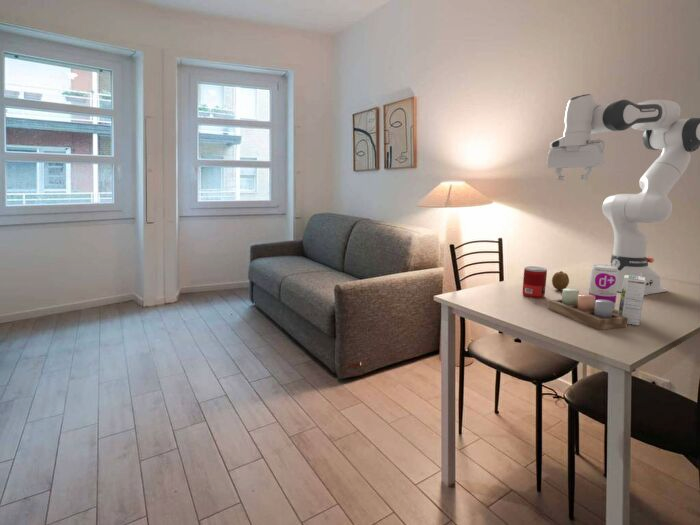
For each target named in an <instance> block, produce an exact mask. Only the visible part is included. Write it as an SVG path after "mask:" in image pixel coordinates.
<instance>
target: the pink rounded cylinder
mask: <svg viewBox="0 0 700 525" xmlns="http://www.w3.org/2000/svg"><path fill="white" fill-rule="evenodd" d="M594 305H595V296H594V295H590V294H588V293H579V294H578V303H577V309H579V310H581V311H584V312H588V311H594Z"/></svg>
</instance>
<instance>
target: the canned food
mask: <svg viewBox="0 0 700 525" xmlns="http://www.w3.org/2000/svg"><path fill="white" fill-rule="evenodd" d="M523 269H524V270H523V278H522V279H523V282H522V295H523V296H524V297H526V298H530V297H531V298H532V299H542V298H543V299H544V297H545V294H546V287H547V286H546V285H547V275H548V273H547V272H548V269H547V268H546V267H542V266H532V265H531V266H530V265H529V266H524V268H523Z"/></svg>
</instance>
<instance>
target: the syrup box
mask: <svg viewBox="0 0 700 525" xmlns="http://www.w3.org/2000/svg"><path fill="white" fill-rule="evenodd" d="M645 284H646V278H645V277H640V276H634V275H625V276H624V281H623V286H622V292H620V299H619V307H618V313H617V314H618V315H621V316H624V317H627V318H628V320H627V325H631V324H632V325H633V326H638V325H639V326H640V321H641V316H642V315H641V314H642V311H643V302H644V297H645V295H644V291H645ZM632 325H631V326H632Z"/></svg>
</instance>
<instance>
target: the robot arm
mask: <svg viewBox="0 0 700 525" xmlns="http://www.w3.org/2000/svg"><path fill="white" fill-rule="evenodd" d="M566 105H567V106H566V108H565V109H566V110H565V115H564V124H565V125H564V126H565V127H564V131H563V134H562V137H560V138H558V139H555V140H554V141H552V142H550V143H549V148H550V149H549V151H548V154H547V159H546V166H547V168H548V169H555V174H556V175H557V181H564V180H565V175H563V174H562V172H563V169H570V168H571V169H574V168H584V173H583V174H581V176H580V180H581V181H588V179H589V175H590V174H591V172H593V168H599V167H602V166H603V164H604V163H605V152H604V151H605V142H604V141H603V140H601V139H593V140H591V136H592V135H593V134H594V135H595V134H602V133H610V132H620V131H625V130H628V129H629V128H632V129H633V130H636V131H643V134H642V139H641V140H642V143H643V145H644V147H645V148H646V149H648V150H653V151H659V150H661V151H662V152H661V153H660V155H659V156H658V157H657V158H656V159H655V160H654V161H653V163H652V164H651V165H650V166H649V168H647V170H646V171H645V172H644V173H643V175H642V176H641V177H640V179H639V181H638V185H639V188H640V189H641V191H640V192H639V193H618V194H614V195H613V194H612V195H609V196H607V197H606V198H605V199H604V201H603V203H602V206H601V210H602V214H603V216H604V217H605V218H607V219H608V221H609V222H610V224H611V227H612V231H613V238H614V239H613V251H612V254H611V257H610V264H611V266H616V267H618V270H619V279H618V287H617V292H618V293H621V292H622V286H623V281H624V276H625V275H634V276H640V277H645V278H646V284H645V291H644V296H647V295H653V294H659V293H665V292H667V290H668V289H667V288H665V287H663V286H660V285H661V278H660V276H659V274H658V273H656V271H655V270H653V269H652V268H650V266H649V263H651V264H652V263H654V261H655V259H654V257H649V256H648V257H647V256H646V255H647V248H648V241H649V239H648V237H647V235H646V234H645V233H644V232H642V231H641V230H640V227H639V224H638V223H644V224H653V223H662V222H665V221H667V219H669V217H670V216H671V214H672V213H673V212H672V211H673V202H672V201H671V200H670V198H669V197H668V195H669V193H670V191H671V190H672V189H673V187H674V186H675V185H676V183H678V180H680V179H681V177H682V176H683V174H684V173H685V171H686V170H687V168H688V166H689V164H690V162H691V160H692V158H691V157H692V156H691V154H690V153H693V152H695V151H697V150H698V149H699V148H700V117H691V118H681V119H680V116H681V113H682V110H681V106H680V104H678V103H677V102H676V101H673V100H669V99H649V100H644V101H641V102H638V103H634V102H632V101H630V100H628V99H621V100H617V101H614V102H611V103H606V104H605V103H604V104H599V103H598V101H596V100H595V98H594V95H593V94H591V93H587V94H586V93H585V94H582V95H576V96H574V97H571V98H570V99H569V100H568V102H567V104H566Z"/></svg>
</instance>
